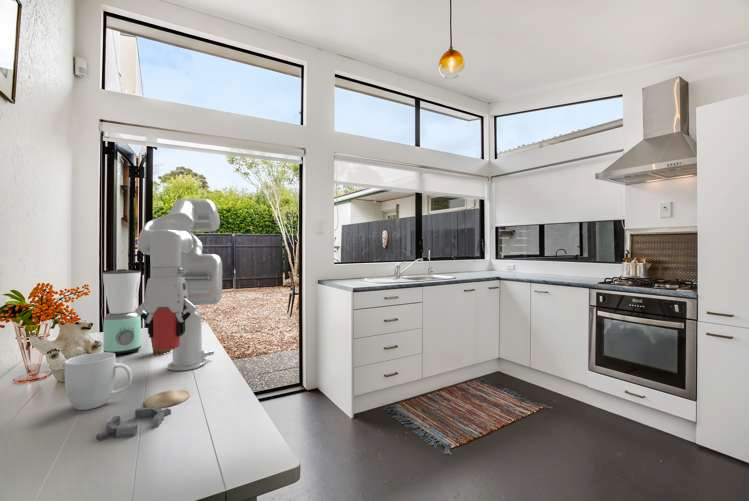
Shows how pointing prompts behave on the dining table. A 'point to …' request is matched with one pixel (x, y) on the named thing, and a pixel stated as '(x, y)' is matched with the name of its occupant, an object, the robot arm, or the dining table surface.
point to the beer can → (165, 330)
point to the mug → (92, 379)
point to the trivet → (167, 398)
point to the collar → (131, 430)
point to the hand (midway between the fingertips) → (166, 335)
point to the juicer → (122, 312)
